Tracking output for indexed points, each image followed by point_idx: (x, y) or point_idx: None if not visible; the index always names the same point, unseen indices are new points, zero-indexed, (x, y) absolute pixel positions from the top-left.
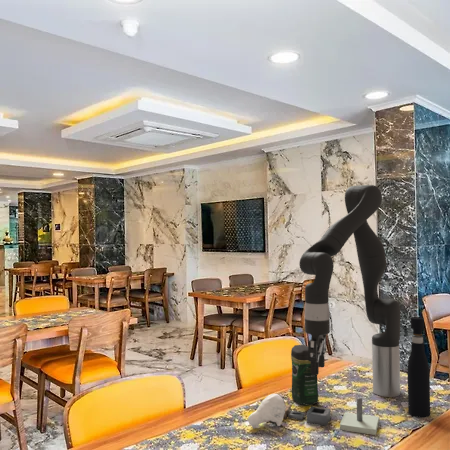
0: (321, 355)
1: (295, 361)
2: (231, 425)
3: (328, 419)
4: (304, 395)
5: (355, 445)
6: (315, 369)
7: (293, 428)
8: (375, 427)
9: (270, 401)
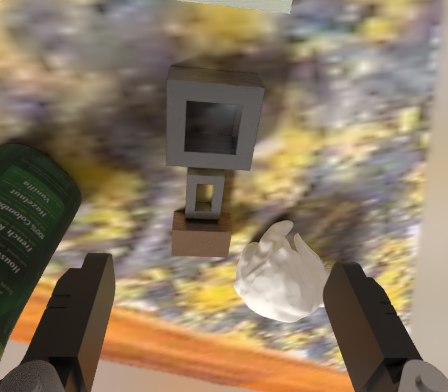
0: (83, 372)
1: None
2: None
3: (220, 74)
4: (65, 208)
5: None
6: (390, 311)
7: (299, 182)
8: None
9: (313, 302)
